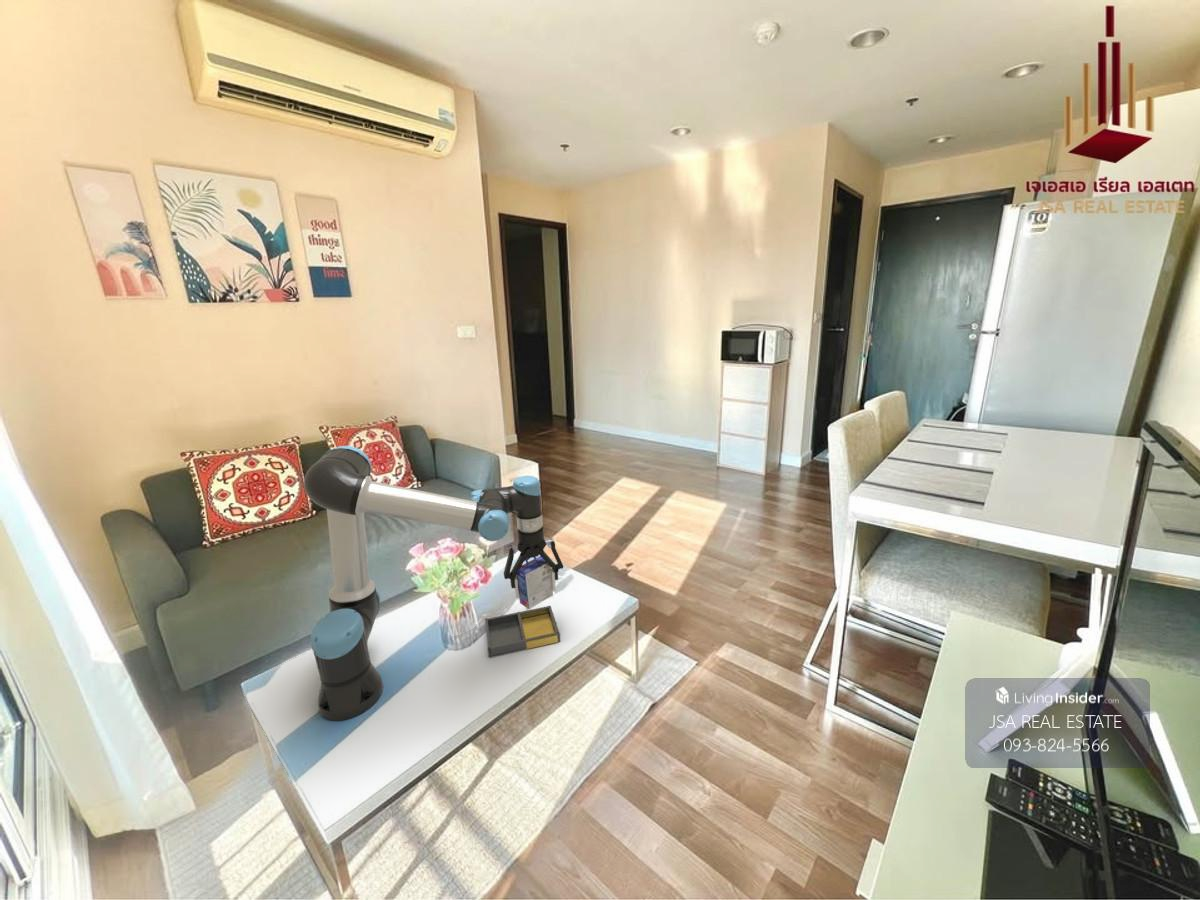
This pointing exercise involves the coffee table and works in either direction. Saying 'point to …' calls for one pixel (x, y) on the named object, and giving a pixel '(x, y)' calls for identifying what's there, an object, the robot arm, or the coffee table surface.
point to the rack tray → (521, 631)
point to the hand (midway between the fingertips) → (535, 592)
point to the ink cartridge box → (534, 582)
